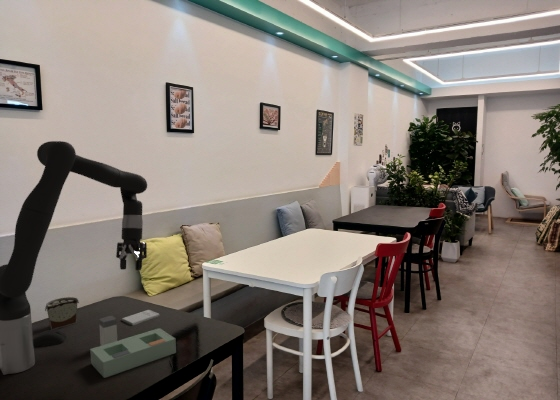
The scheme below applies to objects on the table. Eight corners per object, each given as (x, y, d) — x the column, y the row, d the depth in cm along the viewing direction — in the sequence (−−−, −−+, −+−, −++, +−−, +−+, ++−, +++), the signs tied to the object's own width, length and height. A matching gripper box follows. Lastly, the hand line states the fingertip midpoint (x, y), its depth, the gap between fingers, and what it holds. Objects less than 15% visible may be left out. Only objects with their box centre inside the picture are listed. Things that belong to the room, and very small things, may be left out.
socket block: (104, 378, 129) (103, 361, 129) (91, 363, 138) (90, 348, 138) (176, 352, 145) (175, 338, 144) (160, 341, 154) (159, 327, 153)
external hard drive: (121, 321, 174) (148, 312, 183) (132, 327, 169) (159, 317, 178) (121, 318, 174) (148, 309, 183) (132, 323, 168) (159, 313, 178)
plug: (105, 350, 148) (103, 322, 147) (100, 345, 151) (98, 318, 150) (117, 346, 151) (116, 319, 149) (113, 342, 154) (111, 315, 153)
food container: (75, 317, 177) (73, 294, 176) (80, 322, 173) (78, 298, 172) (42, 326, 169) (40, 302, 168) (47, 331, 164) (45, 306, 163)
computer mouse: (63, 344, 153) (62, 333, 153) (28, 348, 151) (27, 337, 150) (67, 337, 159) (66, 326, 159) (33, 340, 157) (32, 330, 156)
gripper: (111, 227, 165) (110, 269, 163) (137, 226, 157) (135, 270, 156) (127, 228, 171) (126, 268, 169) (152, 227, 164) (151, 269, 162)
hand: (130, 269), depth 162 cm, fingers open, 8 cm apart
